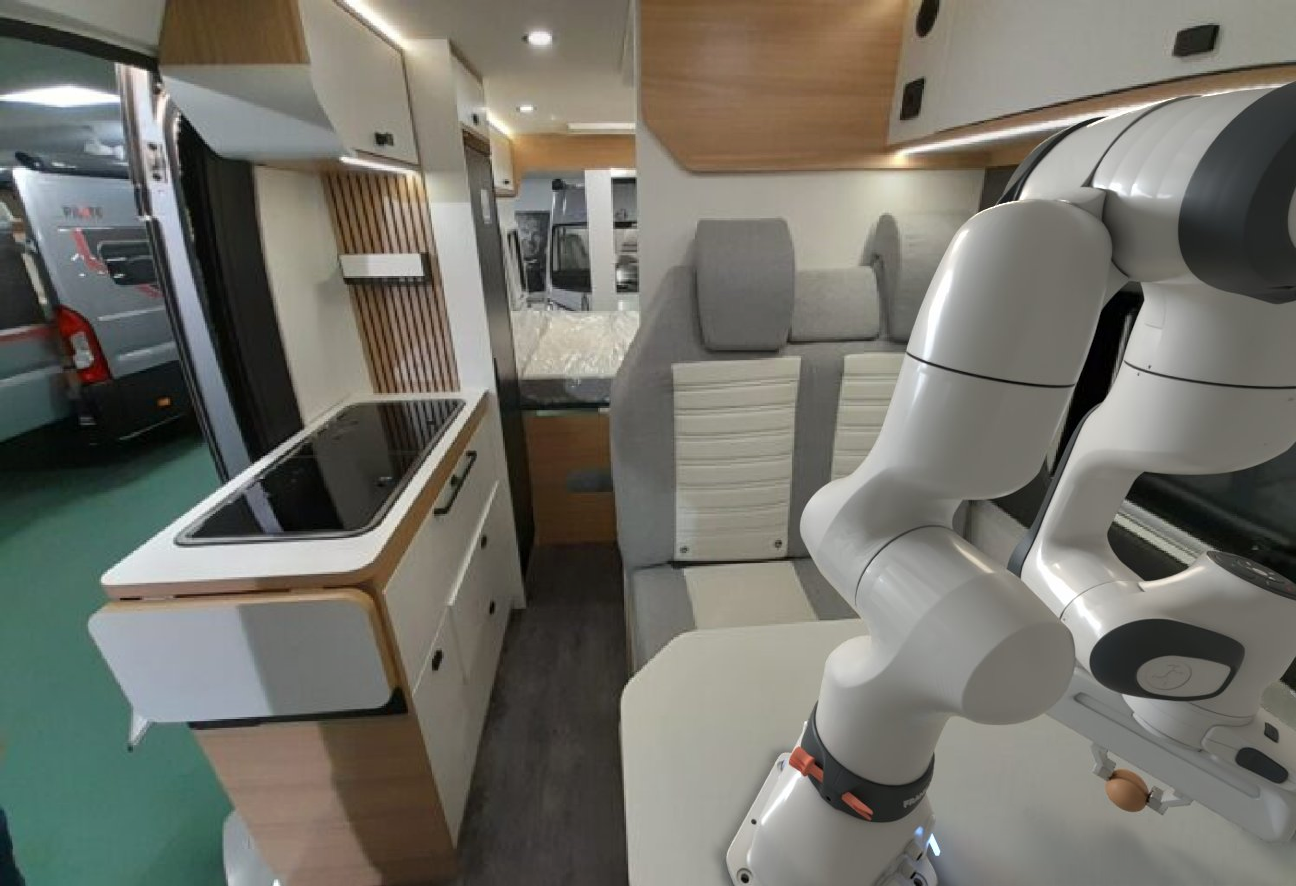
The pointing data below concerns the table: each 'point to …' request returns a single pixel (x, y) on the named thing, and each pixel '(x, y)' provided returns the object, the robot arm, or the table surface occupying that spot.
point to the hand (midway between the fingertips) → (1127, 789)
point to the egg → (1127, 790)
